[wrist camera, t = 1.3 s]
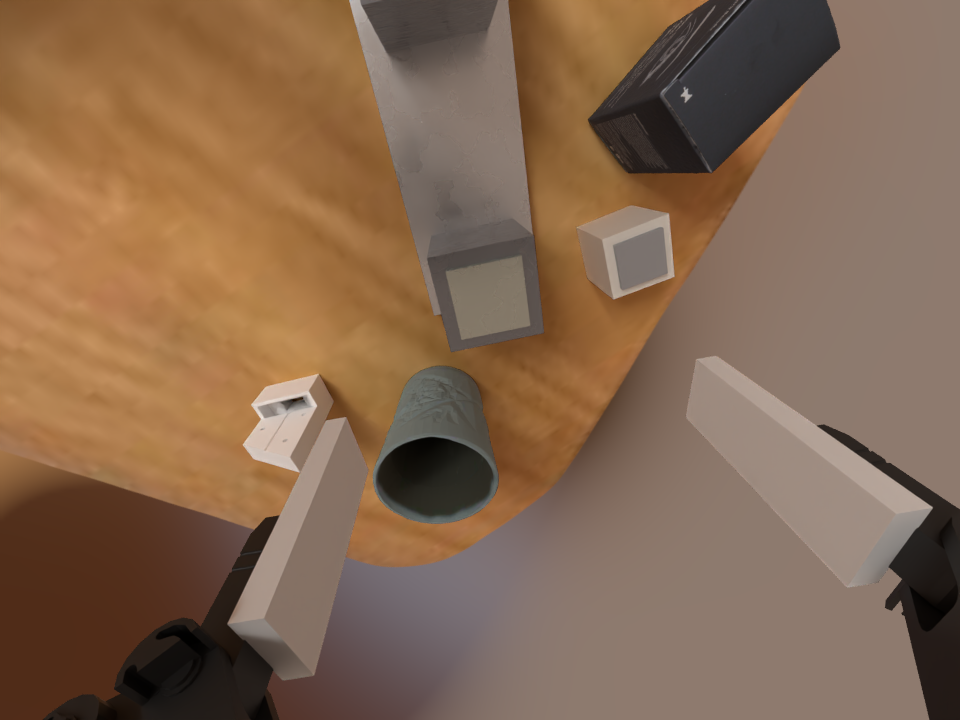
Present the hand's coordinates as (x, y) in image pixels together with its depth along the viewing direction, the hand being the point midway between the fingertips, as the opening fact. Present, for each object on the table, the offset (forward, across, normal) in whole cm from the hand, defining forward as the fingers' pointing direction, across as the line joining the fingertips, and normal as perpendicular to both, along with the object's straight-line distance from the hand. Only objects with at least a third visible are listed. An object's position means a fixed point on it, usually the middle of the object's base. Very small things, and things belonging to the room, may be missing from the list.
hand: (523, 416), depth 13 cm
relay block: (+22, +12, 0) cm, 25 cm away
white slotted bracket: (+22, -21, -10) cm, 32 cm away
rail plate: (+21, 0, +10) cm, 24 cm away
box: (+22, +15, +11) cm, 28 cm away
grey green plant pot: (+22, -6, -13) cm, 26 cm away
